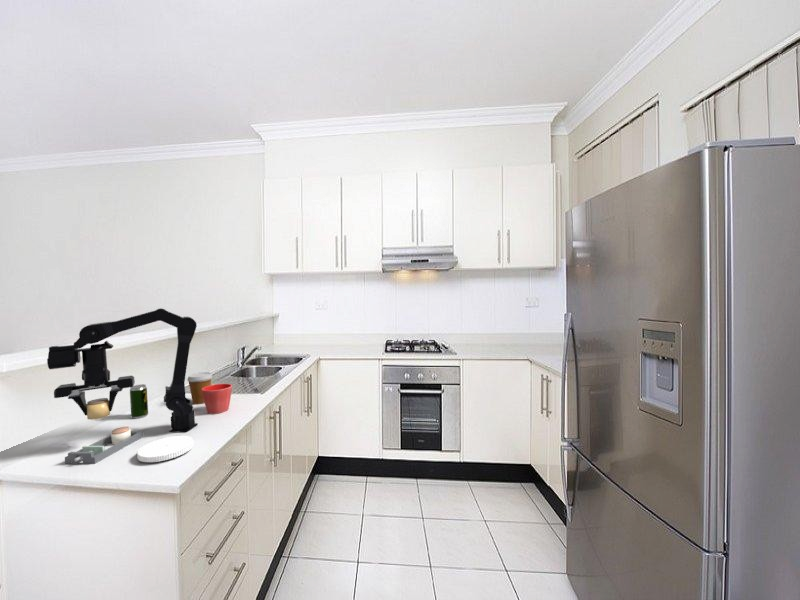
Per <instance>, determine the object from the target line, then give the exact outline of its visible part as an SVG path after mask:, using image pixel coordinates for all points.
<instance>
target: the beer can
mask: <svg viewBox="0 0 800 600" xmlns="http://www.w3.org/2000/svg"><path fill="white" fill-rule="evenodd" d="M129 398H130V399H129V400H130V402H129V403H130V416H131V419H132V420H133V419H134V420H135V419H136V420H138V419H142V418H145V417H147V416H148V415H149V402H148V400H149V399H148V387H147V384H141V383H140V384H136V385H135V384H134V385H133V387H129Z"/></svg>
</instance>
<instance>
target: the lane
mask: <svg viewBox="0 0 800 600" xmlns="http://www.w3.org/2000/svg"><path fill="white" fill-rule="evenodd" d="M144 436H145V434H144V431H141V430H140V431H137V430H134V431H131V437H129V438H127V439H125V440H123V441H121V442H120V443H118V444H116V445H112V446H110V447H108V448H107V449H106V448H105V450H104V451H102V452H101V453H99V454H97V455H95V456H94V452H82V448H81V449H79V450H76V451H70V452H67V456H65V457H64V464H68V465H69V464H79V463H80V462H81V459H80V460H78V461H76V462H75V461H74V459H75V458H77V457H79V456H81V455H83V458H82V464H83V465H84V464H92V465H93V464H94V465H95V464H97V463H98V462H101V461H102V460H104V459H106V458H108V457H110V456H112V455H114V453H116V452H119V451H120V450H123V449H124V448H125V447H128V446H130V445H131V444H133V443H135V442H137V441H138V440H141V439H142V438H144ZM109 443H112V439H111V434H110V435H108V436H106V437H103V438H102V439H99V440H98V441H95V442H94V443H93V442H92V443H91V444H90V445H88V446H104V447H105V446H106V445H107V444H109Z"/></svg>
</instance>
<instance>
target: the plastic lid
mask: <svg viewBox="0 0 800 600" xmlns="http://www.w3.org/2000/svg"><path fill="white" fill-rule="evenodd" d="M193 447H194V439H193V438H192V437H191V436H189V435H188V436H187V435H176V436H168V437H164V438H160V439H156V440H154V441H151V442H148V443H146V444H144V445H142V446H141V447H140V448H139V449H138V450H137V451H136V455H137V460H138V462H139V461H140V462H142V463H157V462H162V461H168V460H171V459H175V458H177V457H179V456H182V455H184V454H186V453H188V452H189V451H190V450H191V449H192V448H193Z"/></svg>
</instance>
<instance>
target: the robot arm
mask: <svg viewBox="0 0 800 600" xmlns="http://www.w3.org/2000/svg"><path fill="white" fill-rule="evenodd" d="M159 321H161V322H163V323H165V324H167V325H170V326H172V327H174V328H176V336H177V346H176V353H175V361H174V367H173V374H172V380H171V383H170V385H169V386H168V385H165V388H164V389H165V394H164V395H163V403H165V406H166V408H167V409H168V410H169V411H172V412H171V416H170V428H171V429H169V430H168V432H169V433H187V432H188V431H191V430H192V429H194V428H195V427H197V426H198V424H199V423H197V422H196V421H195V420H196V419H195V417H196V415H195V409H194V406H193V401H192V400H191V399H189V398H187V397H186V387H185V381H186V374H187V369H188V360H189V354H190V346H191V343H192V340H193V339H194V335H195V332H196V330H197V322H196V320H194V318H192V317H190V316H180V315H178V314H175V313H174V312H173V313H172V312H170V311H168V310H167V309H165V308H161V307H160V308H157V309H155V310H152V311H147V312H145V313H144V312H143V313H140V314H138V315H133V316H131V317H127V318H121V319H119V320H118V319H117V320H115V321H106V322H97V323H90V324H88V325H86V326H83V327H82V328H81V329H80V331H79V333H78V335H79V338H78V339H77V340H76V341H75V342H73V344H69V345H61V346H60V345H54V346H52V345H51V346H49V347H48V355H47V359H46V362H47V363H46V364H47V367H48V369H49V370H57V369H65V368H73V367H74V368H75V367H76V366H77V364H79V363H81V358H82V370H81V380H82V381H83V383H84V384H78V385H77V384H76V383H75V382H73V383H66V384H65V383H64V384H60V385H58V386H57V387H56V388H55V389H54V390H53V398H54V399H60V398H65V397H66V398H67V399H68V400H73V401H74V402H75V403H76V404H77V405H78V407H79V408H80V410H81V411H82V412H83V415H84V416H87V407H86V404H87V401H86V391H91V390H99V389H104V388H107V389H108V388H111V389H110V390H109V394H108V395H109V397H108V400H109V411H110V412H111V411H112V410H113V407H114V403H115V400H116V396H118V393H120V392H122V391H123V389H128V388H129V389H130V387H133V386H135V384H136V383H135V376H133V375H125V376H120V377H118V378H117V379H116V380H111V370H109V369H108V361H107V350H110V349H112V348H113V347H114V345H113V343H110V342H109V341H108V340H106V339H107V338H109V337H112V336H114V335H116V334H118V333H121V332H125V331H128V330H131V329H135V328H139V327H142V326H145V325H149V324H153V323H156V322H159ZM103 340H105V341H104V342H103V343H99V342H101V341H103ZM87 345H90V347H86V348H83V347H85V346H87ZM81 356H82V357H81Z"/></svg>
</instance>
